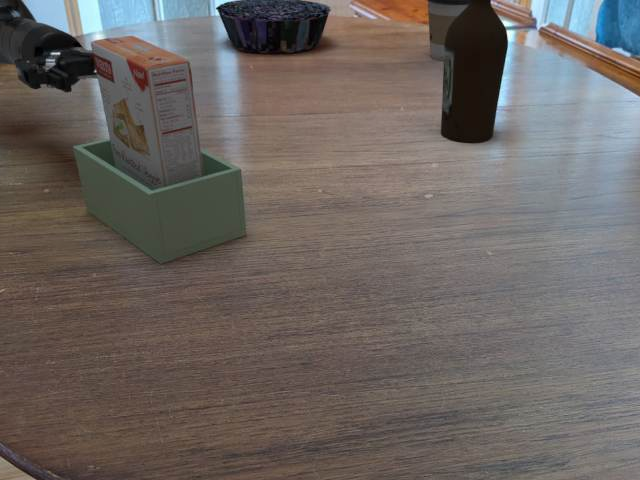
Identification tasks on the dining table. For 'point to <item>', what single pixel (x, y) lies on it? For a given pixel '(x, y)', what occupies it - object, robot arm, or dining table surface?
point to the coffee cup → (442, 22)
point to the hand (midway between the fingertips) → (99, 78)
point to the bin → (164, 204)
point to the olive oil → (473, 73)
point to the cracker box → (149, 111)
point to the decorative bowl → (274, 24)
